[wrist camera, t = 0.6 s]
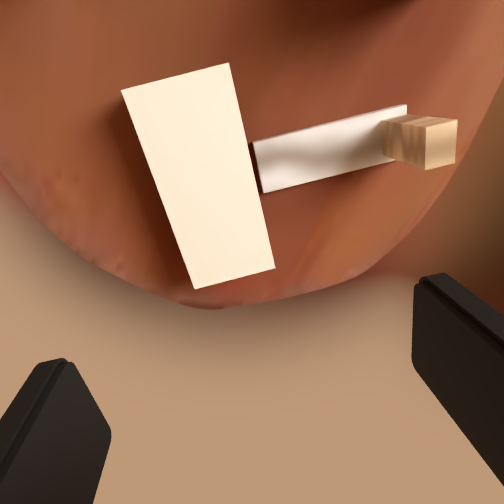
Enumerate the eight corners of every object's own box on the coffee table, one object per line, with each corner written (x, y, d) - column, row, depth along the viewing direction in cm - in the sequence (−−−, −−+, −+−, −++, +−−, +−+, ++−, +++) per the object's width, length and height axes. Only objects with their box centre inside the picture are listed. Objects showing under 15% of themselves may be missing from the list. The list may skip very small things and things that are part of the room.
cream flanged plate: (133, 90, 35) (120, 90, 30) (225, 66, 35) (228, 62, 30) (196, 267, 44) (194, 289, 40) (267, 248, 45) (275, 268, 40)
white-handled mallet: (251, 141, 38) (265, 156, 30) (400, 104, 39) (458, 108, 30) (262, 190, 41) (277, 217, 32) (400, 155, 41) (453, 172, 33)
